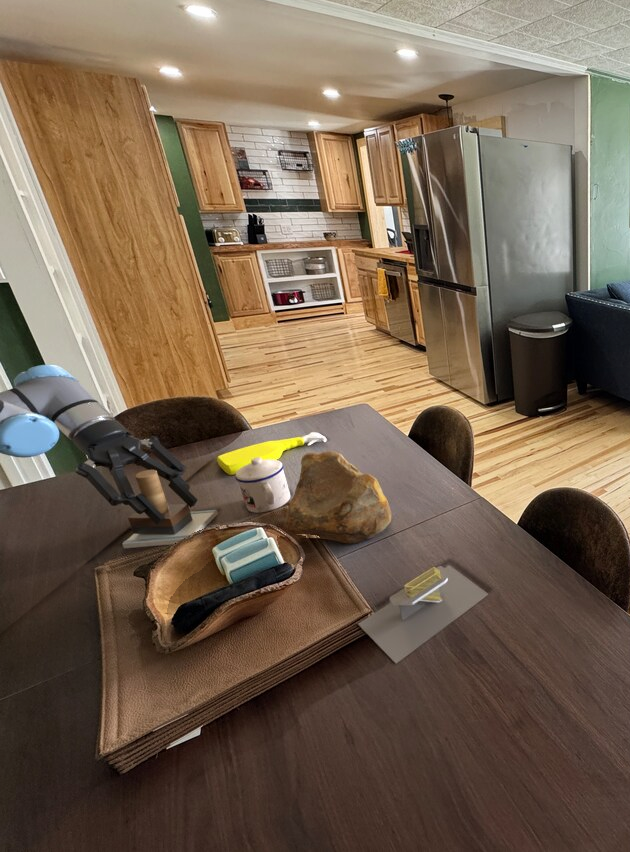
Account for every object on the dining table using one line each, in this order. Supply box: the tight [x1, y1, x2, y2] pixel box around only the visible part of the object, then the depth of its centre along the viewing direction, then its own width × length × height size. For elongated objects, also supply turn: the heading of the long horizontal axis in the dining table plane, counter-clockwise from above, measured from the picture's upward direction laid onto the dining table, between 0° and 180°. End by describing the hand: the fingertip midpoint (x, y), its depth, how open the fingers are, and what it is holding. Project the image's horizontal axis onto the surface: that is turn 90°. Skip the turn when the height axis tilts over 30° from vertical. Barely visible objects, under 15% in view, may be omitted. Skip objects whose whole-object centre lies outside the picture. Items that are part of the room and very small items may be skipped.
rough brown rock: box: [283, 450, 392, 545], centre depth 99 cm, size 23×17×15 cm
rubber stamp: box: [127, 469, 193, 535], centre depth 97 cm, size 8×5×13 cm, turn 94°
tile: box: [121, 509, 219, 549], centre depth 101 cm, size 12×10×1 cm
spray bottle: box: [216, 431, 328, 476], centre depth 131 cm, size 3×11×24 cm
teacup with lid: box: [234, 457, 291, 514], centre depth 108 cm, size 12×9×12 cm
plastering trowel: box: [357, 565, 489, 665], centre depth 81 cm, size 12×18×7 cm, turn 142°
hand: (177, 511), depth 98 cm, fingers closed on rubber stamp, 6 cm apart
